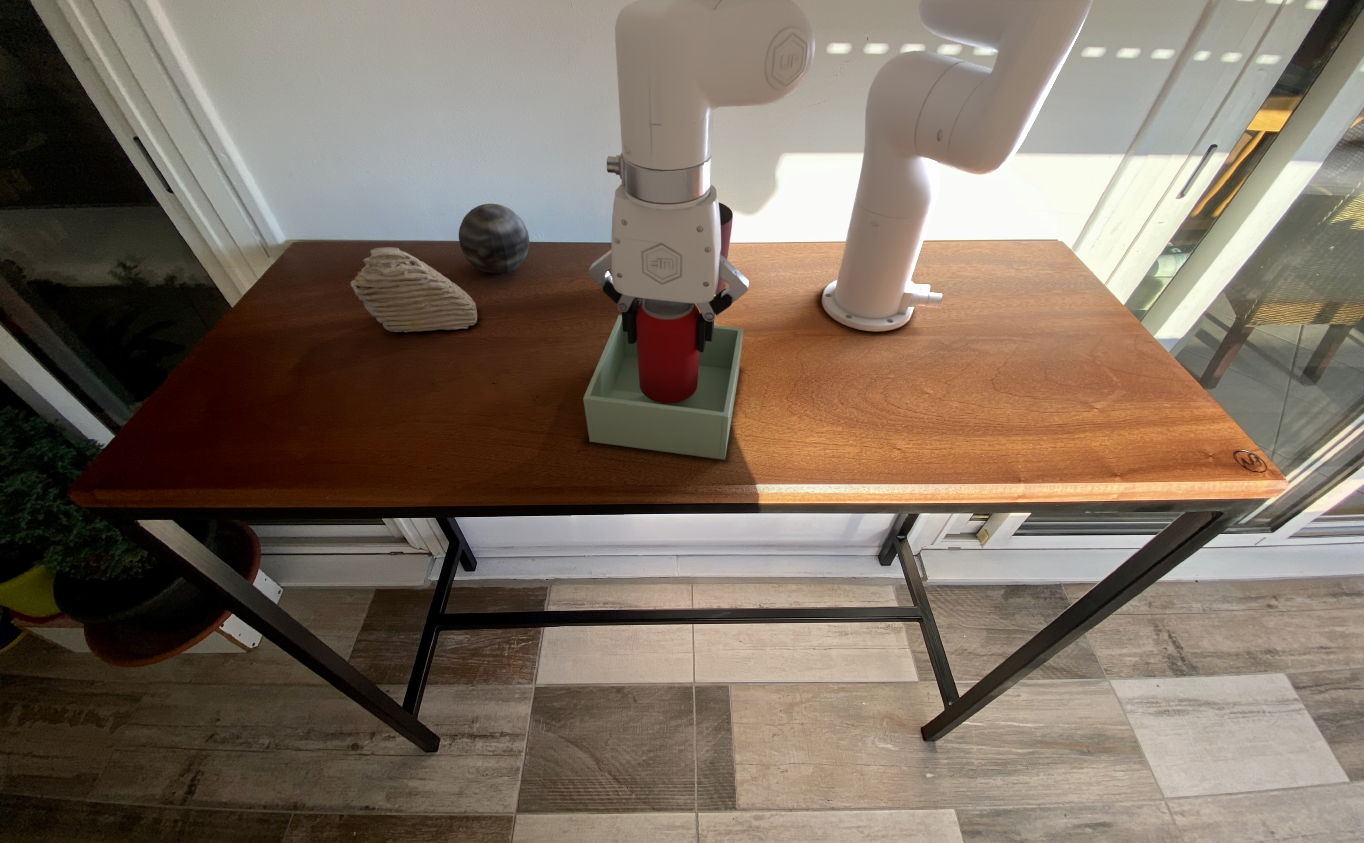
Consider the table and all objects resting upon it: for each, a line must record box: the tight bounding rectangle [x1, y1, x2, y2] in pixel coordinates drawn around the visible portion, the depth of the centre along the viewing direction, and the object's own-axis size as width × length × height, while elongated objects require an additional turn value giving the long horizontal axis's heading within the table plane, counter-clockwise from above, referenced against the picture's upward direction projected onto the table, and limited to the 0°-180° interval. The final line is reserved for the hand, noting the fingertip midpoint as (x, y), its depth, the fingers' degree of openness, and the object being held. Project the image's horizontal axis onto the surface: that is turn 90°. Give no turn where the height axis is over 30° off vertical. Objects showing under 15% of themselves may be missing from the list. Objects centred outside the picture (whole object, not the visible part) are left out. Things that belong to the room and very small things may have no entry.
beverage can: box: [636, 298, 701, 404], centre depth 65 cm, size 7×7×12 cm
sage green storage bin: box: [582, 314, 744, 461], centre depth 68 cm, size 15×15×7 cm
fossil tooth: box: [349, 246, 478, 333], centre depth 78 cm, size 12×6×15 cm
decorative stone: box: [458, 203, 530, 275], centre depth 88 cm, size 10×10×10 cm
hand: (668, 339), depth 64 cm, fingers closed on beverage can, 6 cm apart
